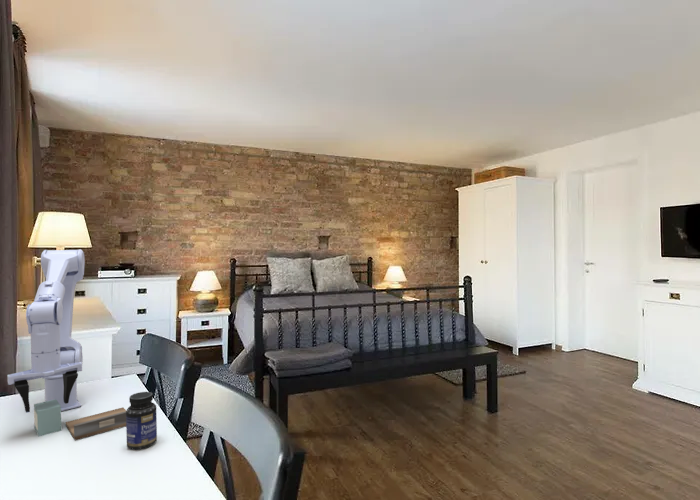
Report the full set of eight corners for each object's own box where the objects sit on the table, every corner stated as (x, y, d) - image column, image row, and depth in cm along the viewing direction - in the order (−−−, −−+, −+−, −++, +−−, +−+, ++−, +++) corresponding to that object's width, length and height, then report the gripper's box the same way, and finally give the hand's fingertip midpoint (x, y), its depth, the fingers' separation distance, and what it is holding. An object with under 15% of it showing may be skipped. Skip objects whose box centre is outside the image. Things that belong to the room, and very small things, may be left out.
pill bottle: (144, 452, 91) (143, 401, 91) (120, 449, 92) (118, 399, 92) (162, 438, 97) (161, 391, 97) (139, 436, 98) (138, 389, 98)
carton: (56, 422, 106) (56, 399, 106) (61, 430, 102) (60, 406, 102) (34, 428, 103) (33, 404, 103) (37, 436, 99) (37, 411, 98)
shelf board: (65, 425, 104) (65, 412, 104) (123, 410, 113) (122, 398, 113) (75, 440, 96) (74, 426, 96) (136, 423, 105) (136, 410, 105)
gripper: (9, 360, 94) (10, 420, 94) (84, 348, 104) (85, 402, 104) (5, 354, 99) (7, 411, 99) (78, 343, 109) (79, 395, 109)
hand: (47, 406), depth 102 cm, fingers open, 7 cm apart
